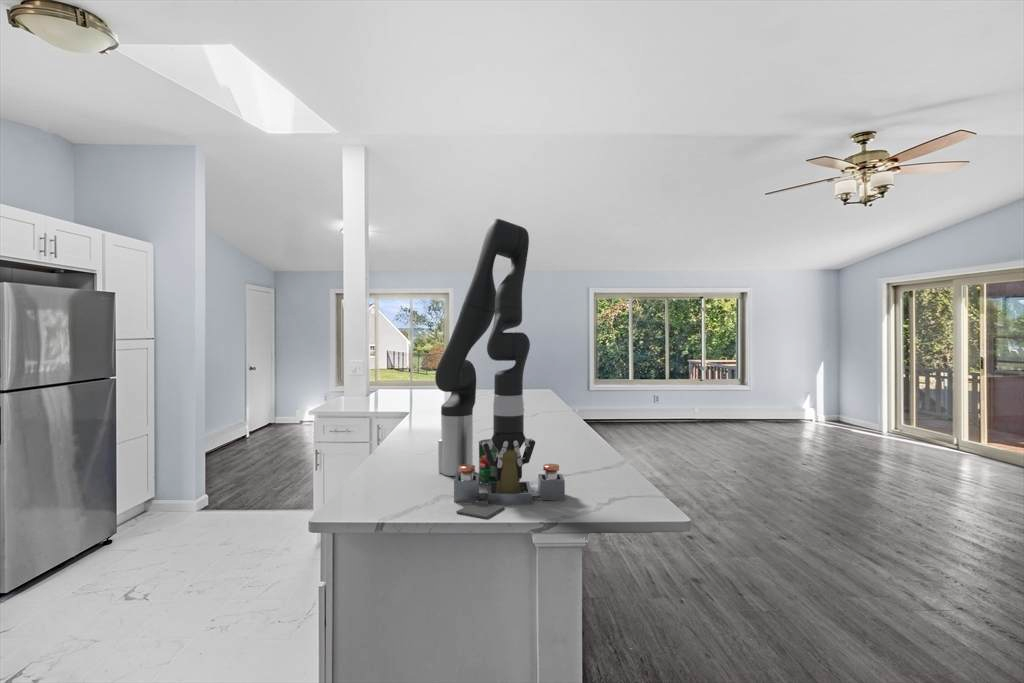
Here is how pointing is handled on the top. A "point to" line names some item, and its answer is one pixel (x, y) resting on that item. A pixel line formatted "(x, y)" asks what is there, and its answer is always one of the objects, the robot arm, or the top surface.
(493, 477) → the canned tomato
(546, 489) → the housing
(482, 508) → the pad
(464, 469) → the plunger
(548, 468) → the plunger
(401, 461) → the top surface
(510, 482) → the cork
